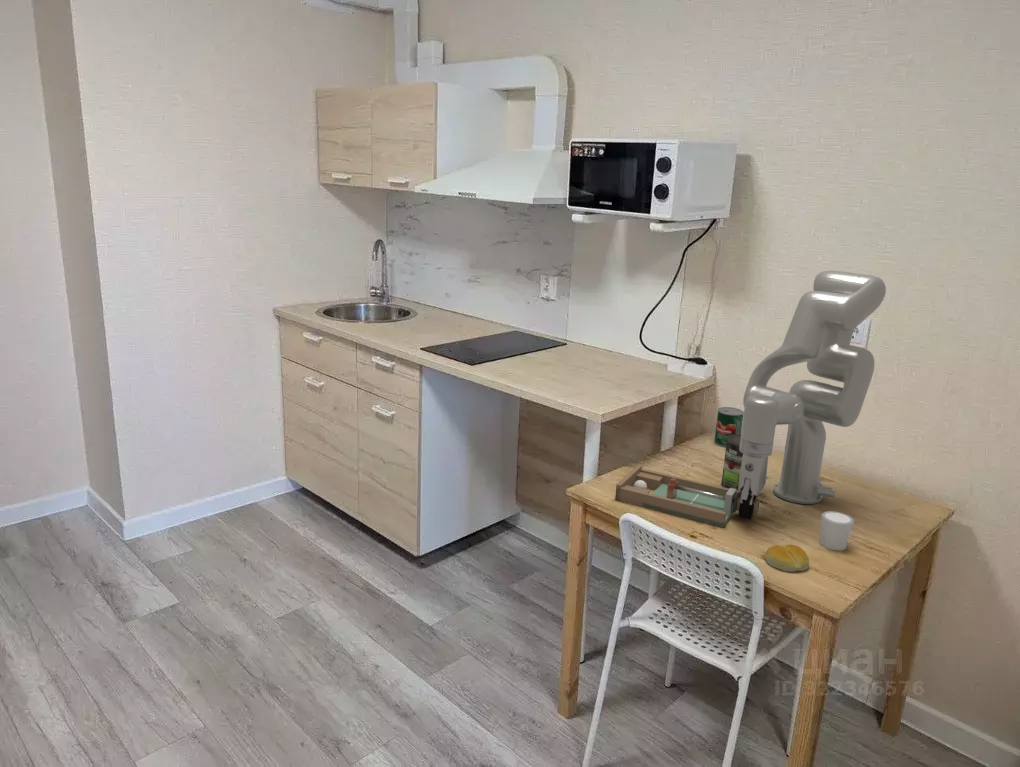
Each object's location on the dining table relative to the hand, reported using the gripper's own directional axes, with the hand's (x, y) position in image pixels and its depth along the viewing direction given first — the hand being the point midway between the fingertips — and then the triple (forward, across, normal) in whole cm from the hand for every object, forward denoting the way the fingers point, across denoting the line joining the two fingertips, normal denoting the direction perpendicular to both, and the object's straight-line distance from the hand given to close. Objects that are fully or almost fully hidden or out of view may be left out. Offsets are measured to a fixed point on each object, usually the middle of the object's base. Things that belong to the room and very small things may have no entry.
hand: (746, 514), depth 184 cm
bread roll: (+2, -17, -13) cm, 21 cm away
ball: (0, 0, +28) cm, 28 cm away
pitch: (+1, 0, +18) cm, 18 cm away
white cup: (+1, -2, -20) cm, 21 cm away
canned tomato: (+1, +52, +18) cm, 55 cm away
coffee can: (+1, +18, +6) cm, 19 cm away
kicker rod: (0, 0, +9) cm, 9 cm away
